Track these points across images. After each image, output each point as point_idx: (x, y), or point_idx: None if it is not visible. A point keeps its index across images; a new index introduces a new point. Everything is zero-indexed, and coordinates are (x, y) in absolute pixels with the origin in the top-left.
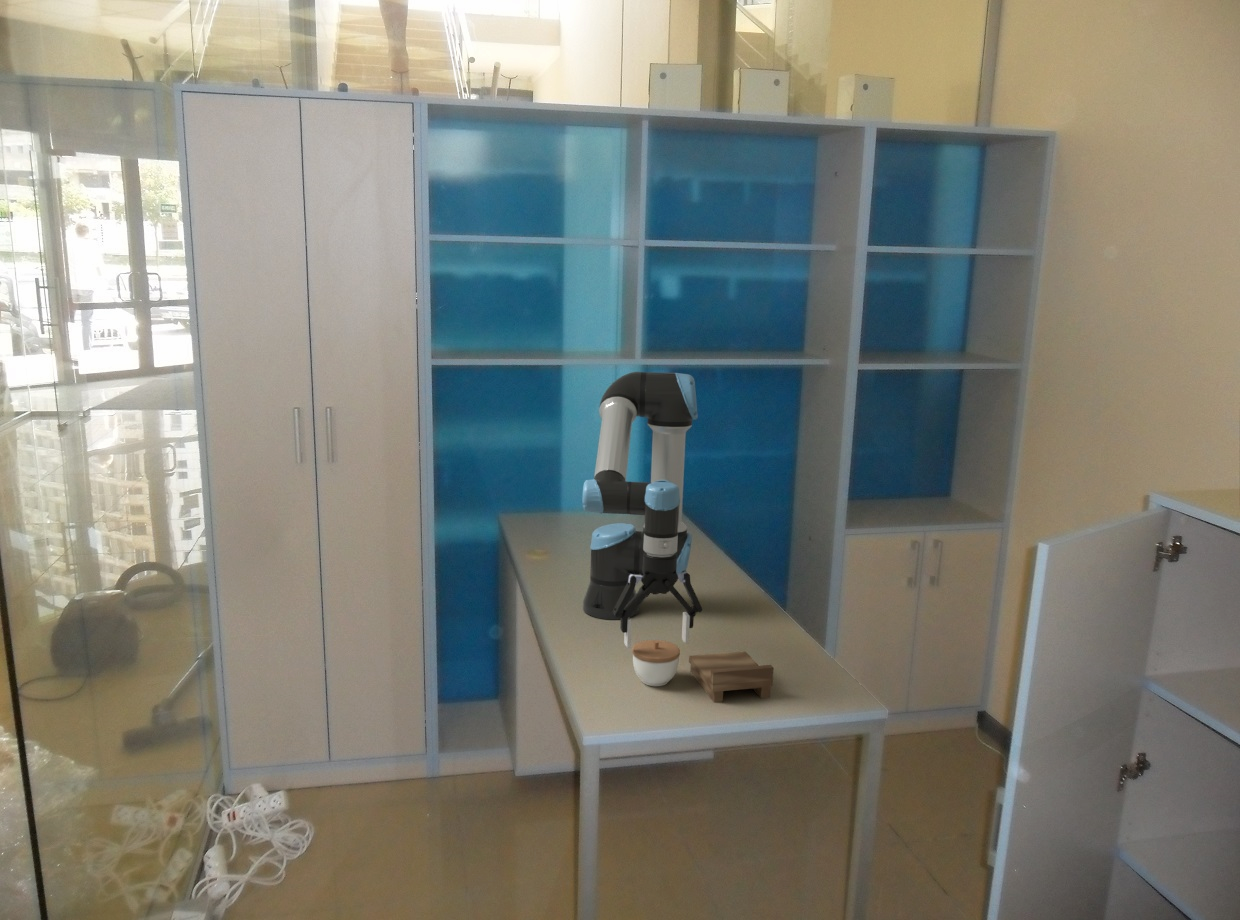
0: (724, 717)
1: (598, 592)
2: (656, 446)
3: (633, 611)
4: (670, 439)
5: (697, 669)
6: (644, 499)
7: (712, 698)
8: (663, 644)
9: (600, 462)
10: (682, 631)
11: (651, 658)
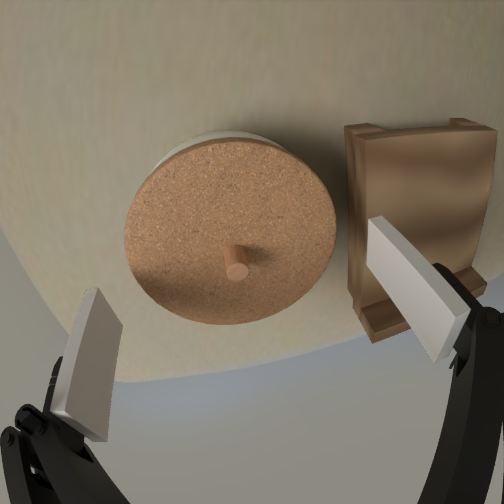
0: (343, 331)
1: None
2: None
3: (113, 483)
4: None
5: (361, 219)
6: None
7: (349, 285)
8: (274, 210)
9: None
10: (389, 246)
11: (210, 323)
